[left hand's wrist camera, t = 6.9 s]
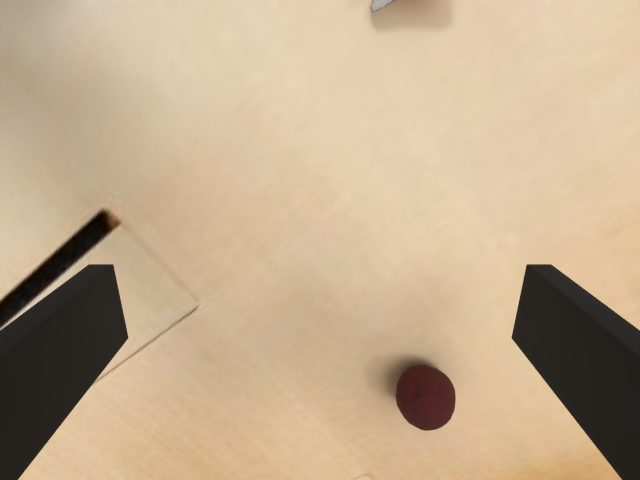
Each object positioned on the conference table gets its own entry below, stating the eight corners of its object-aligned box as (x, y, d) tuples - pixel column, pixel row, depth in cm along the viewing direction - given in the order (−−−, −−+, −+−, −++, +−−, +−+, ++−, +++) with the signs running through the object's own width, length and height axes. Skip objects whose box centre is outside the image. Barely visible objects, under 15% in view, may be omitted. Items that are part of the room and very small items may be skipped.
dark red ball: (409, 408, 54) (422, 451, 48) (380, 370, 52) (388, 411, 45) (456, 383, 53) (476, 425, 46) (428, 344, 50) (444, 382, 44)
